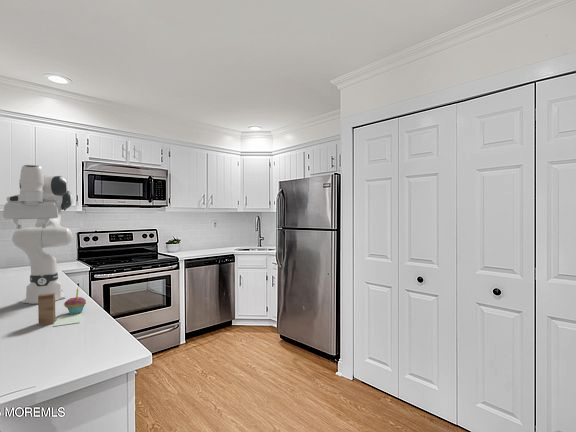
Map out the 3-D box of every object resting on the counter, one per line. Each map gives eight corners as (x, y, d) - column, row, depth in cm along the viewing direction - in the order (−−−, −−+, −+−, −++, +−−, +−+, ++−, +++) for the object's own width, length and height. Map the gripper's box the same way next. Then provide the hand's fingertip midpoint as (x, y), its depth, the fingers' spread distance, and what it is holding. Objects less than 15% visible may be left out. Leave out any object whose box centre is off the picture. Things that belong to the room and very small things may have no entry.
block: (41, 322, 139) (40, 293, 138) (55, 320, 141) (55, 292, 141) (38, 325, 134) (38, 296, 134) (53, 323, 136) (53, 294, 136)
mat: (58, 317, 145) (58, 316, 145) (82, 314, 149) (82, 313, 149) (53, 326, 133) (53, 325, 133) (79, 323, 137) (79, 322, 137)
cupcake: (90, 311, 153) (90, 285, 153) (71, 316, 146) (71, 289, 146) (78, 309, 157) (78, 284, 157) (60, 314, 149) (59, 288, 149)
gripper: (60, 200, 160) (60, 228, 159) (6, 199, 151) (5, 229, 149) (58, 198, 155) (58, 227, 153) (2, 197, 145) (1, 228, 144)
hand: (31, 228), depth 151 cm, fingers open, 8 cm apart
